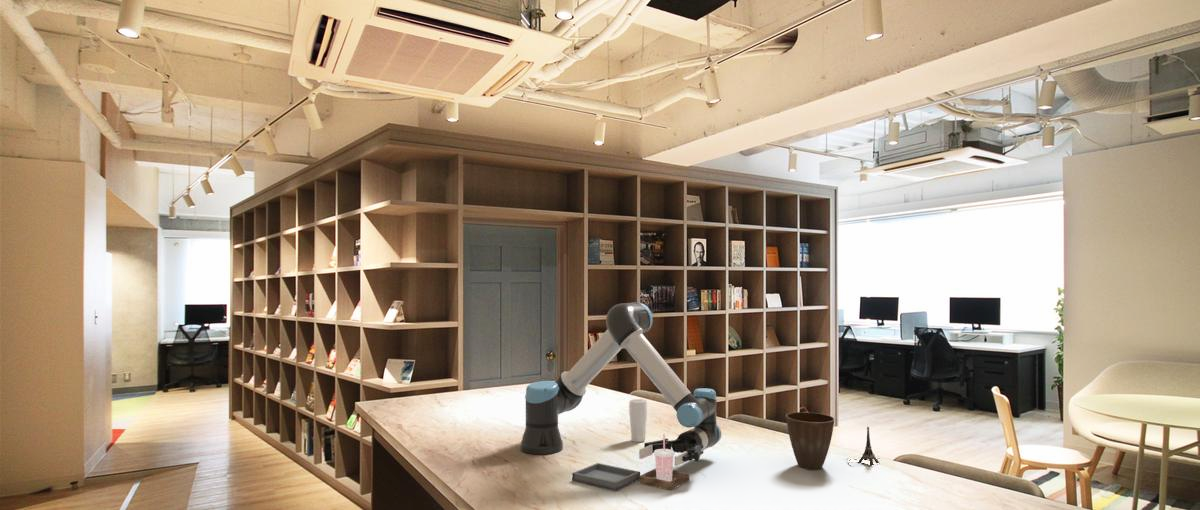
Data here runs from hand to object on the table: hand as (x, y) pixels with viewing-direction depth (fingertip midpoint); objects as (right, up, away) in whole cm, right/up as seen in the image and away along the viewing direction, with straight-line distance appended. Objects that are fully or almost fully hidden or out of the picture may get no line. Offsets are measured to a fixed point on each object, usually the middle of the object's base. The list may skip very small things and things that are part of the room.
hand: (657, 457), depth 184 cm
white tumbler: (-3, -10, +51) cm, 52 cm away
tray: (-15, -8, +4) cm, 18 cm away
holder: (+2, -8, +3) cm, 9 cm away
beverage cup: (+2, -8, +3) cm, 9 cm away
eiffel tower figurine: (+72, -10, +22) cm, 76 cm away
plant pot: (+51, -9, +18) cm, 55 cm away
